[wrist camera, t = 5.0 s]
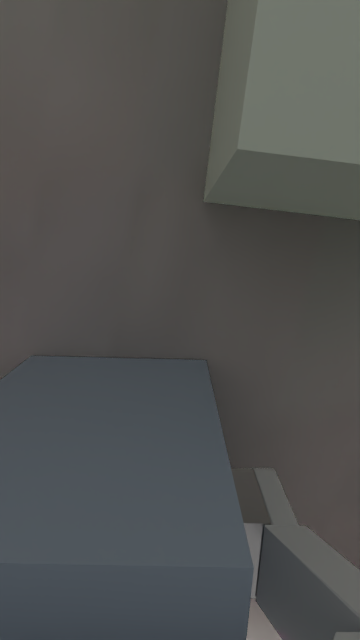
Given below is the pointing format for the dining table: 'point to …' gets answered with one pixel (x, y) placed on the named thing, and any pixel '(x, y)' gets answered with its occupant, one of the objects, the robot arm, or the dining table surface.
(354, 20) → the sage block
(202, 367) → the slate block
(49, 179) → the dining table surface
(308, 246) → the dining table surface
